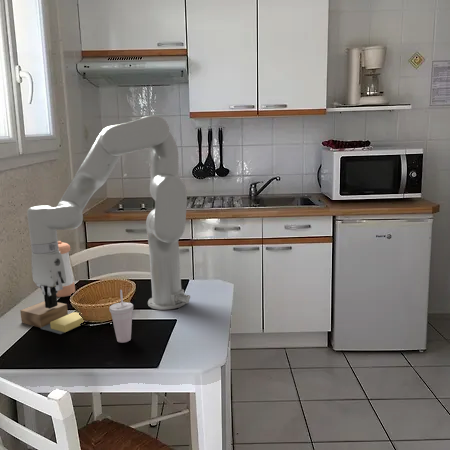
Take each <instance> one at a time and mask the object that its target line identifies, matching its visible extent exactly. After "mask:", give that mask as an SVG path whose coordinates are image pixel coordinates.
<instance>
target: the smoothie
mask: <svg viewBox="0 0 450 450" xmlns="http://www.w3.org/2000/svg"><path fill="white" fill-rule="evenodd" d="M119 296H120V302H118V303H116V302H115V303H113V304H111V305H109V309H108V310H109V312H110V314H111V315H110V316H111V319H112V322H113V323H112V324H113V328H114V333H115V337H116V341H117V342H118V343H121V344H123V343H128V342H129V341H131V339H132V325H133V323H132V321H133V310H134V304H133V303H131V302H126V301H124V299H123V298H124V297H123V289H119Z"/></svg>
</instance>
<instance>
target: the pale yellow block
mask: <svg viewBox="0 0 450 450" xmlns="http://www.w3.org/2000/svg"><path fill="white" fill-rule="evenodd" d="M79 313H80V312H76V311H73V312H71V313H68V315H66V316H63V317H61V318H59V319H56V320H54V321H52V322H50V325H51V329H54V330H58V331H62V332H64V333H66V332H69V331H72V330H73V329H76V328H78V327H80V326H81V325H80V324H81V323H83V322H84V320H83V318H82V317H81V316H80V315H79Z"/></svg>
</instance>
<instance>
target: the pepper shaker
mask: <svg viewBox="0 0 450 450" xmlns="http://www.w3.org/2000/svg"><path fill="white" fill-rule="evenodd" d="M58 248H59V252H60V253H61V255H62V259H63V263H64V268H65V274H66V283H62V286H63V289H62V290H59V291H58V293H57V294H56V295H57V298H65V297H69V296H72V295H71V294H72V293H74V292H75V293H76V285H75V281H74V276H73V275H74V274H73V271H72V267H71V262H70V260H71V259H70V255H69V254H70V251H71V245H70V244H69V243H67V242H62V241H61V240H58ZM75 293H74V294H75Z"/></svg>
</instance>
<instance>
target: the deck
mask: <svg viewBox="0 0 450 450" xmlns="http://www.w3.org/2000/svg"><path fill="white" fill-rule="evenodd" d="M57 304H58V305H57V306H55V307H53V308H50V309H49V308H46V307H45V300H44V301H41V302H38V303H36V304H33V305H30V306H28V307H25V308H23V309H20V310H19V311H20V318H21V319H20V320H21V323H22V324H25V325H29V326H32V327H36V328H40V329H41V327H44V326H46V325H48V324H50V322H52V321H54V320H56V319H59V318H61V317H63V316H66V315H68V314H69V312H68V311H69V310H68V304H67V303H63V302H58V301H57Z"/></svg>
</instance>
